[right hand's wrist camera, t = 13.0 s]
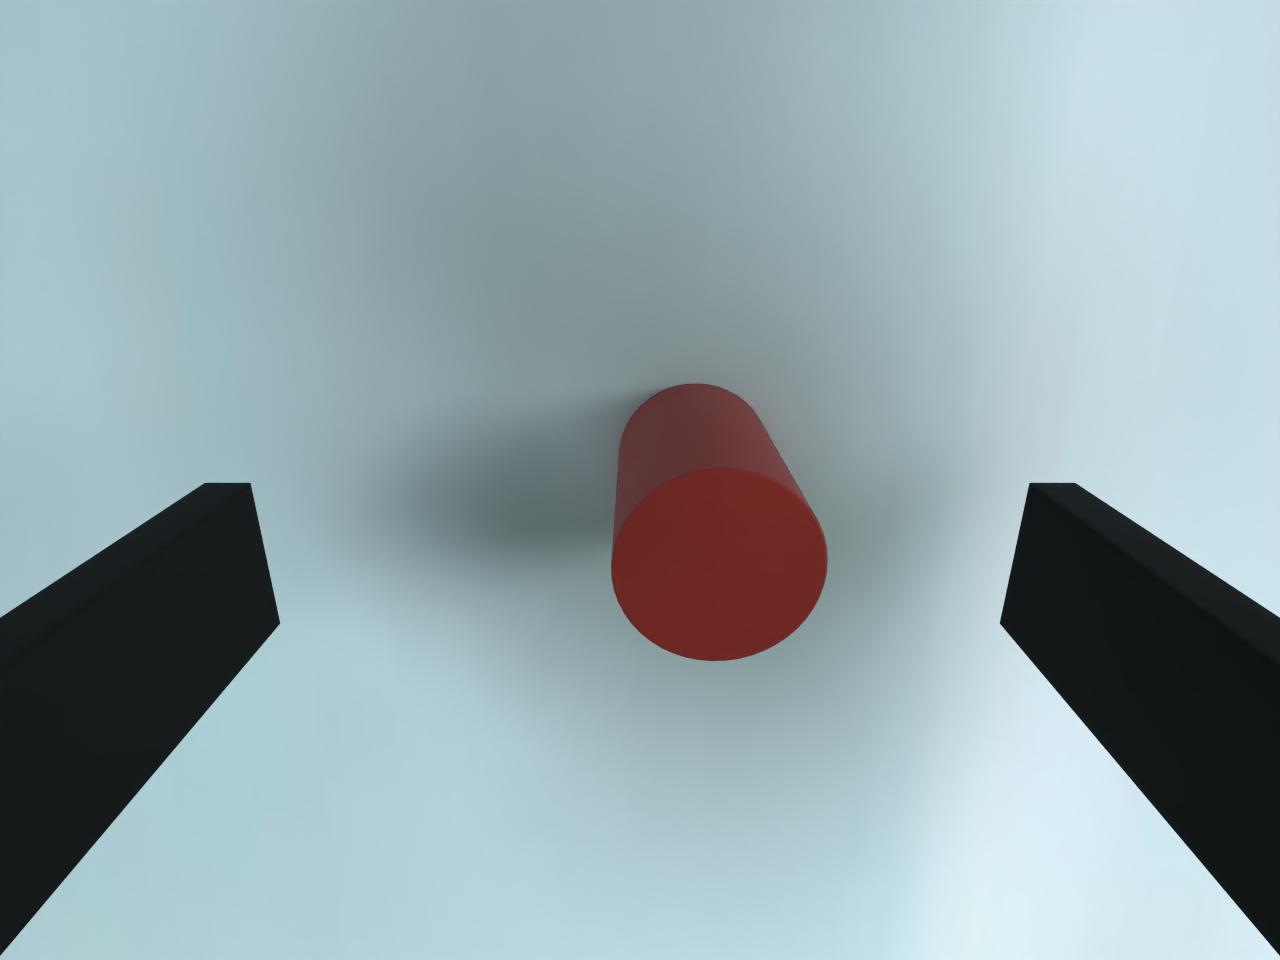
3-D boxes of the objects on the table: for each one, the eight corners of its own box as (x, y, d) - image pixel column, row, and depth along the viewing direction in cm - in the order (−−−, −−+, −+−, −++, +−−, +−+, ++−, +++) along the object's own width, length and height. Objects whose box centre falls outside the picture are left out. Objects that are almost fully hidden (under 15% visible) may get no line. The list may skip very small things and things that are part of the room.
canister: (608, 513, 27) (596, 647, 19) (631, 371, 25) (629, 452, 17) (750, 534, 28) (799, 674, 19) (783, 396, 26) (853, 487, 17)
